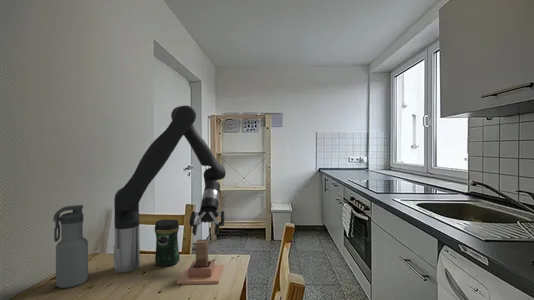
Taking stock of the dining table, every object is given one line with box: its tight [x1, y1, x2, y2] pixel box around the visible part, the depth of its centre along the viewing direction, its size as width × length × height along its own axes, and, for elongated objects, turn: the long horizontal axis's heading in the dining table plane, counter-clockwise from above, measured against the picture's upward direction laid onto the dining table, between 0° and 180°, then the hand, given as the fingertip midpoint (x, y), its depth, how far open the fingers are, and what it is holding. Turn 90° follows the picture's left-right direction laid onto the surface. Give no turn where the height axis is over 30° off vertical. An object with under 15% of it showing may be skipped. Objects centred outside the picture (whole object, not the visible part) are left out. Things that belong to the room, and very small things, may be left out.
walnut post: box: [195, 238, 209, 268], centre depth 110 cm, size 4×4×12 cm
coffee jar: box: [154, 219, 180, 266], centre depth 123 cm, size 10×8×19 cm
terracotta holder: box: [176, 259, 225, 285], centre depth 110 cm, size 15×15×4 cm
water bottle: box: [52, 204, 89, 289], centre depth 105 cm, size 10×10×28 cm
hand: (205, 234), depth 117 cm, fingers open, 8 cm apart
